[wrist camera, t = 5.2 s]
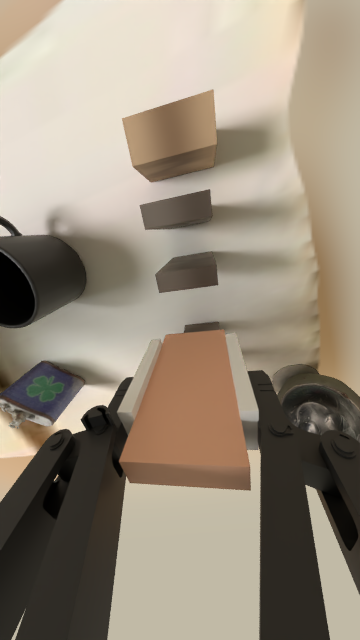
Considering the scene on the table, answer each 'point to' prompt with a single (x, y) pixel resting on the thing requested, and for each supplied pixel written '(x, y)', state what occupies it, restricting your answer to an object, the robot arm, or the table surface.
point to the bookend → (173, 137)
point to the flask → (40, 394)
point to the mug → (36, 276)
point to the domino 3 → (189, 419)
